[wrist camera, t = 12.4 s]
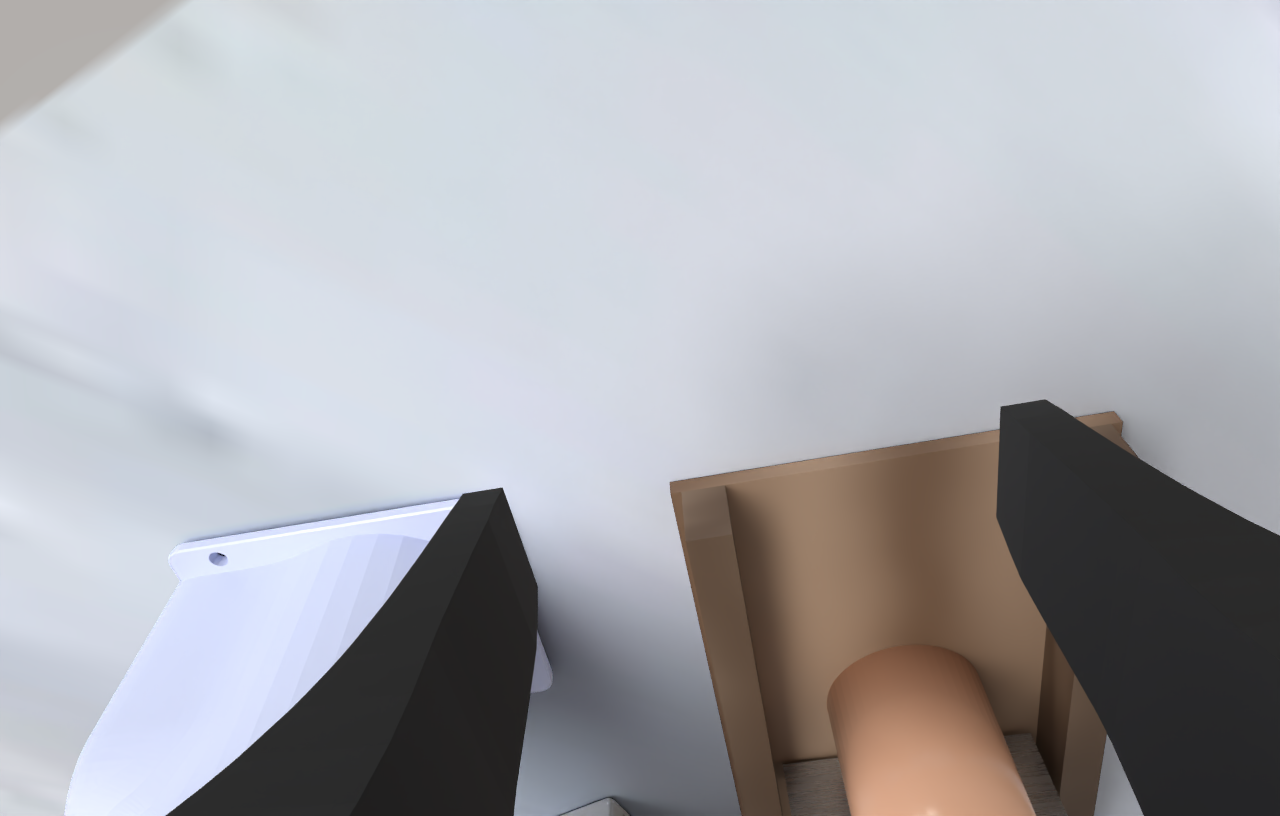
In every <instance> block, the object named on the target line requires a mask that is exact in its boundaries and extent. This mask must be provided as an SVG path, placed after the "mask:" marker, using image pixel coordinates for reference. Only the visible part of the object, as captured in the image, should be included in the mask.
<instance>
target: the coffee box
mask: <svg viewBox="0 0 1280 816" xmlns="http://www.w3.org/2000/svg"><path fill="white" fill-rule="evenodd" d="M560 816H630V815H629V814H628V813H627V812H626V811H625V810H624V809H623V808H622V807H621V806H620V805H619V804H618V803H617V802H616V801H614V800H613V799H612V798H605V799H603V800H600V801H597V802H595V803H592V804H589V805H587V806H584V807H581V808H579V809H576V810H573V811H571V812H568V813H566V814H563V815H560Z"/></svg>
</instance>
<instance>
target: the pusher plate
mask: <svg viewBox="0 0 1280 816" xmlns="http://www.w3.org/2000/svg"><path fill="white" fill-rule="evenodd" d="M1004 738H1005V741H1006V743H1007V746H1008V748H1009V751H1010V753H1011V755H1012V758H1013V760H1014V763H1015V765H1016V768H1017V770H1018V773H1019V775H1020V777H1021V780H1022V782H1023V785H1024V787H1025V790H1026V792H1027V794H1028V797H1029V799H1030V802H1031V804H1032V807H1033V809H1034V812H1035V814H1036V816H1068V815H1067V813H1066V811H1065V809H1064V807H1063V804H1062V802H1061V800H1060V798H1059V795H1058V793H1057V791H1056V789H1055V786H1054V784H1053V782H1052V780H1051V777H1050V775H1049V773H1048V771H1047V768H1046V766H1045V764H1044V762H1043V760H1042V757H1041V755H1040V753H1039V751H1038V748H1037V746H1036V744H1035V742H1034V739H1033V737H1032V735H1031V733H1025V734H1017V735H1009V736H1004ZM783 768H784V774H785V780H786V786H787V792H788V798H789V804H790V810H791V816H851V813H850V809H849V804H848V800H847V795H846V791H845V786H844V782H843V778H842V773H841V769H840V764H839V760H838V758H831V759H823V760H815V761H808V762H800V763H792V764H784V765H783Z"/></svg>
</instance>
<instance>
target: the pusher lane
mask: <svg viewBox="0 0 1280 816" xmlns="http://www.w3.org/2000/svg"><path fill="white" fill-rule="evenodd" d="M1076 419H1077V420H1079V421H1081V422H1082V423H1084V424H1085V425H1087V426H1088V427H1090V428H1091V429H1093V430H1094V431H1096V432H1098V433H1099V434H1101V435H1102V436H1104V437H1105V438H1107V439H1108V440H1110V441H1112V442H1113V443H1115V444H1116V445H1118V446H1119V447H1121V448H1123V449H1124V450H1126V451H1127V452H1129V453H1131V454H1132V455H1134V456H1135V457H1137V458H1138V456H1137V455H1136V454H1135V453H1134V451H1133V450H1132V449H1131V448H1130V447H1129V445H1128V444H1127V443H1126V442H1125V440H1124V439H1123V438H1122V437H1121V433H1122V425H1123V421H1122V420H1121V419H1120V418H1119V417H1118V415H1117V414H1116V413H1115V412H1114V411H1113V412H1107V413H1101V414H1094V415H1088V416H1082V417H1076ZM999 435H1000V430H994V431H988V432H982V433H975V434H969V435H963V436H957V437H950V438H944V439H938V440H932V441H925V442H919V443H913V444H907V445H900V446H894V447H888V448H882V449H875V450H869V451H863V452H857V453H850V454H844V455H838V456H832V457H825V458H819V459H813V460H807V461H800V462H794V463H788V464H782V465H775V466H769V467H763V468H757V469H750V470H744V471H738V472H732V473H725V474H719V475H713V476H707V477H700V478H694V479H688V480H681V481H675V482H670V493H671V498H672V503H673V507H674V512H675V516H676V521H677V525H678V530H679V534H680V539H681V543H682V548H683V552H684V557H685V561H686V566H687V570H688V575H689V579H690V584H691V588H692V593H693V597H694V602H695V607H696V611H697V616H698V620H699V625H700V629H701V634H702V638H703V643H704V647H705V652H706V656H707V661H708V665H709V670H710V674H711V679H712V683H713V688H714V692H715V697H716V701H717V706H718V710H719V715H720V719H721V724H722V728H723V733H724V737H725V742H726V746H727V751H728V756H729V760H730V765H731V769H732V774H733V778H734V783H735V787H736V792H737V796H738V801H739V805H740V810H741V814H742V816H791V810H790V804H789V798H788V792H787V786H786V780H785V774H784V768H783V765H784V764H792V763H800V762H808V761H815V760H823V759H831V758H838V755H837V751H836V746H835V742H834V737H833V733H832V728H831V724H830V719H829V715H828V710H827V696H828V692H829V690H830V687H831V686H832V684H833V682H834V681H835V679H836V678H837V677H838V676H839V675H840V674H841V673H842V672H843V671H844V670H845V669H846V668H847V667H849V666H850V665H851V664H853V663H854V662H856V661H858V660H859V659H861V658H863V657H865V656H867V655H869V654H872V653H874V652H877V651H880V650H884V649H887V648H891V647H897V646H904V645H930V646H936V647H941V648H945V649H948V650H951V651H953V652H955V653H958V654H959V655H961V656H963V657H964V658H966V659H967V660H968V661H969V662H970V663H971V664H972V665H973V666H974V668H975V669H976V671H977V673H978V675H979V677H980V680H981V682H982V685H983V687H984V690H985V692H986V694H987V697H988V699H989V702H990V704H991V707H992V709H993V711H994V714H995V716H996V719H997V721H998V724H999V726H1000V729H1001V731H1002V733H1003V736H1009V735H1017V734H1025V733H1031V735H1032V737H1033V739H1034V742H1035V744H1036V746H1037V748H1038V751H1039V753H1040V755H1041V757H1042V760H1043V762H1044V764H1045V766H1046V768H1047V771H1048V773H1049V775H1050V777H1051V780H1052V782H1053V784H1054V786H1055V789H1056V791H1057V793H1058V795H1059V798H1060V800H1061V802H1062V804H1063V807H1064V809H1065V811H1066V813H1067V815H1068V816H1094V810H1095V804H1096V797H1097V791H1098V785H1099V779H1100V773H1101V766H1102V760H1103V754H1104V748H1105V741H1106V735H1107V732H1106V730H1105V728H1104V726H1103V724H1102V722H1101V720H1100V718H1099V716H1098V715H1097V713H1096V711H1095V709H1094V707H1093V705H1092V704H1091V702H1090V700H1089V698H1088V697H1087V695H1086V693H1085V691H1084V690H1083V688H1082V686H1081V684H1080V683H1079V681H1078V679H1077V677H1076V676H1075V674H1074V672H1073V670H1072V669H1071V667H1070V665H1069V663H1068V662H1067V660H1066V658H1065V656H1064V655H1063V653H1062V651H1061V649H1060V648H1059V646H1058V644H1057V642H1056V641H1055V639H1054V637H1053V635H1052V634H1051V632H1050V630H1049V628H1048V627H1047V625H1046V623H1045V621H1044V620H1043V618H1042V616H1041V614H1040V612H1039V611H1038V609H1037V607H1036V605H1035V604H1034V602H1033V600H1032V598H1031V596H1030V595H1029V593H1028V591H1027V589H1026V587H1025V586H1024V584H1023V582H1022V580H1021V578H1020V576H1019V573H1018V571H1017V569H1016V566H1015V564H1014V561H1013V559H1012V557H1011V554H1010V552H1009V549H1008V547H1007V544H1006V541H1005V539H1004V536H1003V534H1002V531H1001V528H1000V526H999V523H998V521H997V518H996V508H997V484H998V460H999Z"/></svg>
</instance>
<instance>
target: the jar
mask: <svg viewBox="0 0 1280 816" xmlns="http://www.w3.org/2000/svg"><path fill="white" fill-rule="evenodd" d="M827 710H828V715H829V719H830V724H831V728H832V733H833V737H834V742H835V746H836V751H837V755H838V760H839V764H840V769H841V773H842V778H843V782H844V786H845V791H846V795H847V800H848V804H849V809H850V813H851V816H1036V814H1035V812H1034V809H1033V807H1032V804H1031V802H1030V799H1029V797H1028V794H1027V792H1026V790H1025V787H1024V785H1023V782H1022V780H1021V777H1020V775H1019V773H1018V770H1017V768H1016V765H1015V763H1014V760H1013V758H1012V755H1011V753H1010V751H1009V748H1008V746H1007V743H1006V741H1005V738H1004V736H1003V733H1002V731H1001V729H1000V726H999V724H998V721H997V719H996V716H995V714H994V711H993V709H992V707H991V704H990V702H989V699H988V697H987V694H986V692H985V690H984V687H983V685H982V682H981V680H980V677H979V675H978V673H977V671H976V669H975V668H974V666H973V665H972V664H971V663H970V662H969V661H968V660H967V659H966V658H964V657H963V656H961V655H959V654H958V653H955V652H953V651H951V650H948V649H945V648H941V647H936V646H930V645H904V646H897V647H891V648H887V649H884V650H880V651H877V652H874V653H872V654H869V655H867V656H865V657H863V658H861V659H859V660H858V661H856V662H854V663H853V664H851V665H850V666H849V667H847V668H846V669H845V670H844V671H843V672H842V673H841V674H840V675H839V676H838V677H837V678H836V679H835V681H834V682H833V684H832V686H831V687H830V690H829V692H828V696H827Z"/></svg>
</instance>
